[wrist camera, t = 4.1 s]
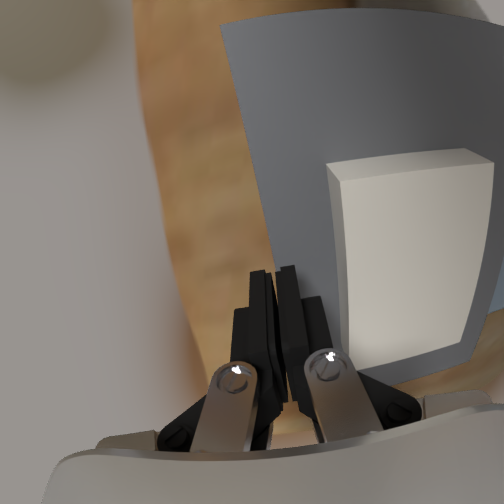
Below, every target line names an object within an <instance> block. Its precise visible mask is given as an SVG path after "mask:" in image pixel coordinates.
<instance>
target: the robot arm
mask: <svg viewBox="0 0 504 504" xmlns="http://www.w3.org/2000/svg"><path fill="white" fill-rule="evenodd" d="M280 270H281V271H277V272H275V276H276V287H277V299H278V304H277V299H276V294H275V290H274V285H273V280H272V275H271V273H266V272H265V270H259V271H253V272H250V289H249V307H245V308H238V309H235V310H234V319H233V332H232V344H231V357H230V362H229V363H227V364H224V365H223V366H221V367H219V368H218V369H217V370H216V371H215V373H214V374H213V376H212V379H211V382H210V385H209V389H208V392H207V394H206V395H205V396H204V397H203V398H201V399H200V400H199V401H198V402H196V403H195V404H194V405H193V406H191V407H190V408H189V409H187V410H186V411H185V412H184V413H182V414H181V415H180V416H178V417H177V418H176V419H174V420H173V421H172V422H171V423H169V424H168V425H167V426H165V428H163V429H162V430H161V431H160V432H156V431H154V430H150V431H144V432H138V433H131V434H125V435H118V436H109V437H106V438H103V439H102V440H101V441H99V443H98V444H97V446H96V448H95V449H90V450H85V451H80V452H77V453H74V454H71V455H69V456H67V457H65V458H63V459H62V460H61V461H59V463H58V464H57V465H56V467H55V468H54V470H53V472H52V474H51V476H50V479H49V481H48V483H47V486H46V489H45V492H44V495H43V499H42V502H41V504H504V404H496V403H495V404H494V403H492V400H491V398H490V396H489V395H488V394H487V393H485V392H484V391H481V390H469V391H462V392H454V393H445V394H436V395H425V396H424V398H421V399H415V398H414V397H412V396H410V395H408V394H406V393H404V392H402V391H399V390H397V389H395V388H393V387H391V386H388V385H386V384H384V383H382V382H380V381H378V380H375V379H373V378H371V377H369V376H367V375H365V374H363V373H361V372H359V371H356V369H355V367H354V365H353V363H352V361H351V359H350V357H349V356H348V355H347V354H346V353H345V352H343V351H342V350H338V349H335V348H333V344H332V340H331V335H330V331H329V327H328V323H327V319H326V315H325V311H324V307H323V303H322V299H321V296H314V297H308V298H302V299H301V298H300V292H299V286H298V281H297V275H296V270H295V265H289V266H283V267H280ZM286 372H287V376H288V381H289V386H290V390H291V395H292V400H293V401H298V406H299V411H300V412H302V413H303V414H305V415H306V416H308V417H310V418H311V422H312V426H313V429H314V432H315V435H316V439H317V442H318V444H314V445H307V446H300V447H292V448H283V449H273V450H270V445H271V440H272V433H273V421H274V420H275V419H276V418H277V417H278V416H279V415H280V414H281V411H283V403H285V402H288V391H287V378H286Z"/></svg>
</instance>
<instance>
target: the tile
mask: <svg viewBox="0 0 504 504" xmlns="http://www.w3.org/2000/svg"><path fill="white" fill-rule="evenodd" d="M326 169H327V176H328V184H329V192H330V200H331V209H332V218H333V228H334V238H335V249H336V261H337V274H338V289H339V306H340V329H341V344H342V348H343V351H344V352H345V353H346V354H347V355H348V356H349V357H350V359H351V361H352V363H353V365H354V367H355V369H356V370H361V369H366V368H370V367H374V366H378V365H383V364H387V363H391V362H394V361H398V360H402V359H406V358H409V357H413V356H417V355H420V354H423V353H427V352H430V351H434V350H437V349H440V348H443V347H446V346H449V345H452V344H455V343H458V342H460V340H461V337H462V334H463V331H464V328H465V325H466V321H467V318H468V315H469V311H470V308H471V304H472V301H473V297H474V293H475V289H476V285H477V281H478V277H479V272H480V268H481V263H482V258H483V253H484V248H485V242H486V236H487V230H488V223H489V216H490V208H491V199H492V188H493V175H494V162H492V161H490V160H488V159H486V158H484V157H482V156H480V155H478V154H476V153H474V152H472V151H470V150H468V149H466V148H458V149H445V150H433V151H422V152H412V153H403V154H394V155H386V156H378V157H370V158H362V159H355V160H348V161H341V162H335V163H328V164H326Z"/></svg>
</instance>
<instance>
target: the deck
mask: <svg viewBox="0 0 504 504" xmlns="http://www.w3.org/2000/svg"><path fill="white" fill-rule="evenodd" d="M220 29H221V33H222V37H223V41H224V45H225V49H226V53H227V57H228V61H229V65H230V69H231V73H232V77H233V82H234V86H235V90H236V94H237V98H238V102H239V107H240V111H241V115H242V119H243V124H244V128H245V132H246V137H247V141H248V145H249V150H250V154H251V158H252V163H253V167H254V172H255V176H256V180H257V185H258V189H259V194H260V198H261V203H262V207H263V212H264V217H265V221H266V226H267V230H268V235H269V240H270V244H271V249H272V254H273V258H274V263H275V268H276V272H277V271H281V270H280V267H283V266H289V265H295V270H296V275H297V281H298V286H299V292H300V298H301V299H302V298H308V297H314V296H321V299H322V303H323V307H324V311H325V315H326V319H327V323H328V327H329V331H330V335H331V340H332V344H333V348H335V349H338V350H342V351H343V348H342V344H341V329H340V306H339V289H338V274H337V261H336V249H335V238H334V228H333V218H332V209H331V200H330V192H329V184H328V176H327V169H326V164H328V163H335V162H341V161H348V160H355V159H362V158H370V157H378V156H386V155H394V154H403V153H412V152H422V151H433V150H445V149H458V148H466V149H468V150H470V151H472V152H474V153H476V154H478V155H480V156H482V157H484V158H486V159H488V160H490V161H492V162H494V175H493V188H492V199H491V208H490V216H489V223H488V230H487V236H486V242H485V248H484V253H483V258H482V263H481V268H480V272H479V277H478V281H477V285H476V289H475V293H474V297H473V301H472V304H471V308H470V311H469V315H468V318H467V321H466V325H465V328H464V331H463V334H462V337H461V340H460V342H458V343H455V344H452V345H449V346H446V347H443V348H440V349H437V350H434V351H430V352H427V353H423V354H420V355H417V356H413V357H409V358H406V359H402V360H398V361H394V362H391V363H387V364H383V365H378V366H374V367H370V368H366V369H361V370H356V371H359V372H361V373H363V374H365V375H367V376H369V377H371V378H373V379H375V380H378V381H380V382H382V383H384V384H386V385H388V386H392V385H396V384H399V383H403V382H407V381H410V380H413V379H417V378H420V377H423V376H427V375H430V374H433V373H436V372H439V371H442V370H445V369H448V368H451V367H454V366H457V365H459V364H462V363H465V362H468V361H470V359H471V356H472V354H473V352H474V349H475V347H476V344H477V342H478V339H479V336H480V334H481V331H482V328H483V325H484V323H485V320H486V317H487V314H488V311H489V308H490V305H491V302H492V298H493V295H494V292H495V288H496V285H497V281H498V277H499V273H500V270H501V265H502V261H503V257H504V26H501V25H497V24H493V23H489V22H485V21H481V20H476V19H471V18H466V17H461V16H455V15H449V14H442V13H434V12H426V11H416V10H404V9H387V8H339V9H321V10H309V11H299V12H290V13H282V14H275V15H268V16H262V17H256V18H251V19H246V20H241V21H236V22H231V23H227V24H222V25H220ZM343 352H344V351H343Z"/></svg>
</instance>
